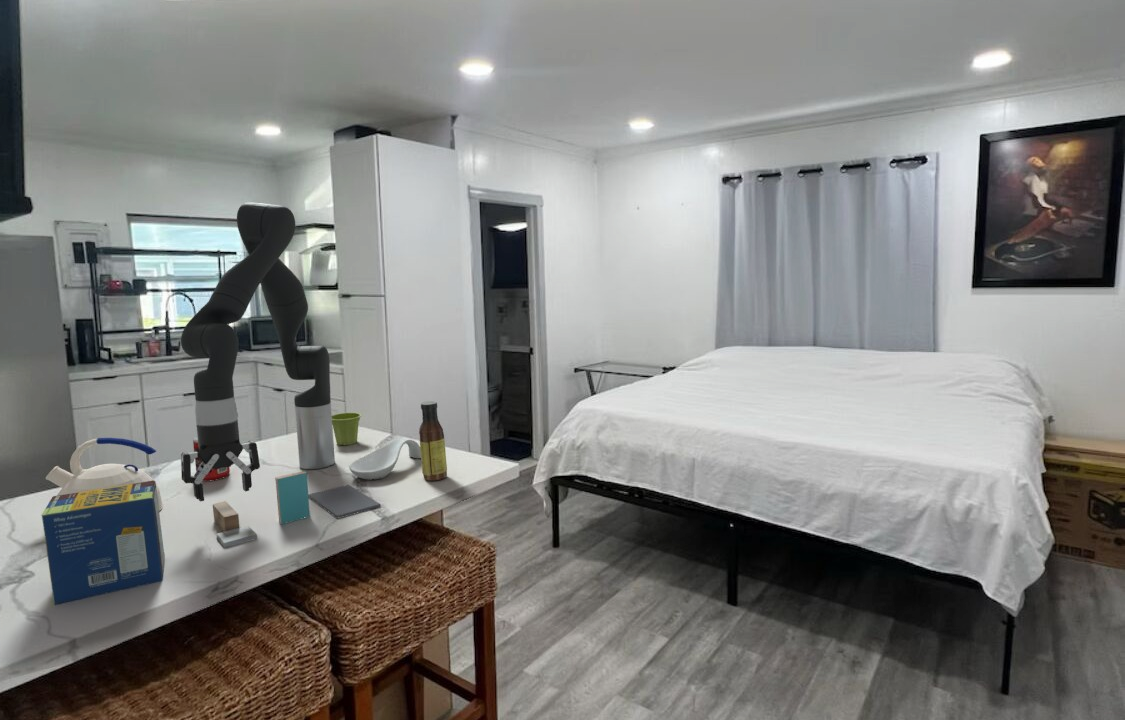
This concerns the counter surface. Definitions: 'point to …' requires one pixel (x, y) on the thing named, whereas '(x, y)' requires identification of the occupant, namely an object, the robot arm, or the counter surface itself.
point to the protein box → (103, 541)
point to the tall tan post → (230, 526)
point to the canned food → (212, 473)
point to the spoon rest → (383, 459)
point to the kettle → (100, 471)
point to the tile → (292, 497)
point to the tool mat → (343, 500)
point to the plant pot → (346, 427)
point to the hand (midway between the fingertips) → (224, 495)
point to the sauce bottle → (432, 444)
